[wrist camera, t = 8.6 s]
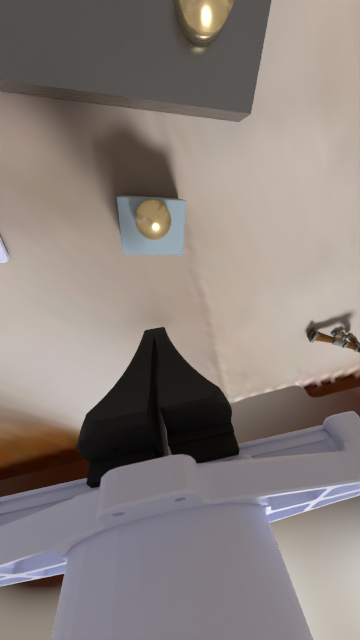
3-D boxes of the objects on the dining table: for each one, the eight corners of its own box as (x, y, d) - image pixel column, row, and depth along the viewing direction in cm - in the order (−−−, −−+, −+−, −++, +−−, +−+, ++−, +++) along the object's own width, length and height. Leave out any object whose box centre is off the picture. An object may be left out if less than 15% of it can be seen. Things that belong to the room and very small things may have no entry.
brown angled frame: (353, 340, 32) (368, 359, 28) (302, 327, 33) (310, 343, 29) (360, 332, 31) (377, 349, 27) (308, 318, 32) (317, 334, 28)
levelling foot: (126, 244, 19) (121, 258, 15) (121, 195, 16) (114, 197, 13) (177, 245, 19) (184, 258, 16) (179, 198, 17) (188, 201, 14)
